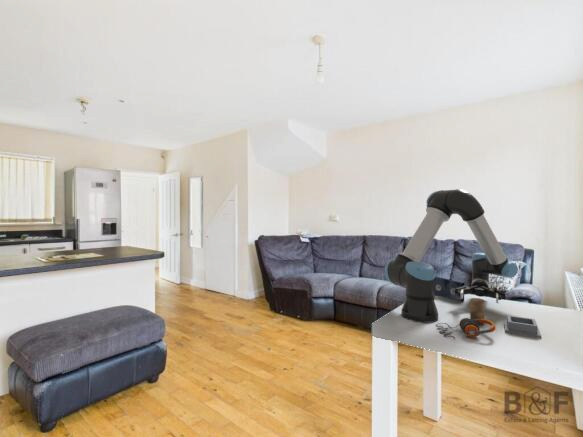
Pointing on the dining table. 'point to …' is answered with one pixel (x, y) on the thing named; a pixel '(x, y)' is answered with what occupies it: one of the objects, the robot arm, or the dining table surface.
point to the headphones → (470, 327)
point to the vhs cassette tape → (447, 288)
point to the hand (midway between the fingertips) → (478, 297)
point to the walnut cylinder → (477, 310)
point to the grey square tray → (522, 326)
